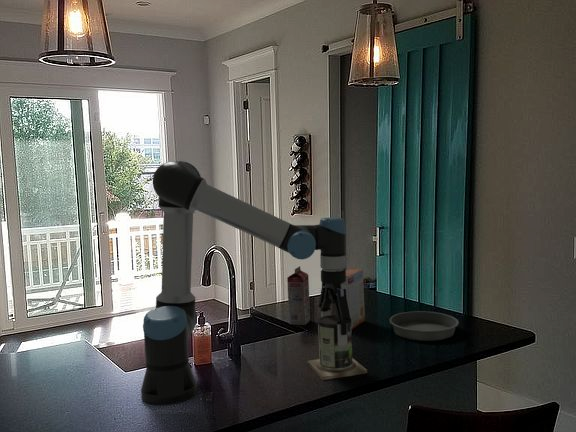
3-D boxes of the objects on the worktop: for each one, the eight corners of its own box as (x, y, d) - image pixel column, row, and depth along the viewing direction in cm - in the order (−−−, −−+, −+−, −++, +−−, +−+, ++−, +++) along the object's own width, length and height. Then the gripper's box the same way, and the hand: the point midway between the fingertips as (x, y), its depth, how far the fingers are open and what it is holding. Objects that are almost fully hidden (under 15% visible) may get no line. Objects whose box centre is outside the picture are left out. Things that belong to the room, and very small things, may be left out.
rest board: (322, 380, 158) (322, 376, 158) (307, 363, 172) (307, 360, 172) (367, 373, 162) (367, 369, 162) (348, 357, 176) (348, 354, 176)
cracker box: (351, 319, 219) (349, 267, 217) (365, 321, 216) (364, 268, 214) (336, 329, 207) (334, 274, 205) (350, 331, 204) (349, 275, 202)
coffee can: (354, 359, 171) (352, 315, 170) (351, 371, 161) (349, 324, 160) (321, 358, 173) (319, 314, 172) (316, 370, 163) (315, 324, 162)
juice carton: (289, 324, 216) (286, 269, 214) (294, 319, 222) (292, 265, 220) (305, 325, 214) (303, 269, 212) (310, 320, 220) (308, 266, 218)
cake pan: (389, 342, 190) (389, 329, 190) (389, 321, 214) (389, 310, 214) (463, 343, 186) (463, 330, 186) (454, 322, 210) (454, 311, 210)
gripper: (362, 275, 153) (362, 349, 155) (330, 261, 177) (330, 325, 179) (337, 277, 151) (337, 352, 153) (308, 263, 175) (309, 328, 177)
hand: (334, 338), depth 166 cm, fingers open, 13 cm apart
